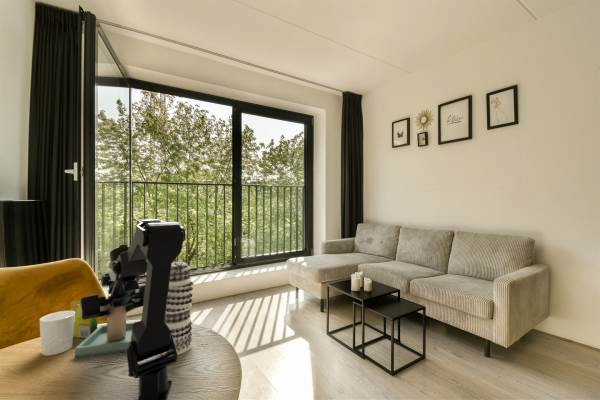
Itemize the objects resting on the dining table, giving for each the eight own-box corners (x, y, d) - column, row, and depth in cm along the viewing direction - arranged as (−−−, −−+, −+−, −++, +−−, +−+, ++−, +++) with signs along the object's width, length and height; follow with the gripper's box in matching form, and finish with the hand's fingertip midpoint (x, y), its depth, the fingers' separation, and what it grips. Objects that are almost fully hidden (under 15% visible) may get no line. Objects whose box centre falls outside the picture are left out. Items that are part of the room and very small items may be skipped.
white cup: (53, 358, 75) (54, 322, 76) (31, 355, 77) (32, 320, 77) (81, 344, 83) (82, 311, 83) (61, 341, 85) (61, 309, 85)
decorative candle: (178, 358, 75) (178, 267, 75) (151, 353, 77) (151, 266, 78) (199, 342, 84) (199, 261, 84) (174, 338, 86) (174, 259, 87)
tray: (134, 350, 79) (135, 341, 79) (74, 357, 75) (75, 348, 76) (150, 328, 94) (150, 320, 94) (100, 333, 90) (100, 325, 90)
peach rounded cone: (116, 341, 82) (116, 299, 82) (102, 339, 83) (102, 298, 83) (130, 333, 87) (130, 294, 87) (116, 332, 88) (116, 293, 88)
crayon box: (97, 334, 89) (98, 298, 90) (89, 338, 86) (89, 302, 87) (78, 332, 91) (78, 297, 91) (69, 337, 88) (70, 300, 88)
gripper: (153, 258, 89) (142, 285, 96) (81, 268, 76) (75, 299, 83) (162, 287, 83) (150, 314, 91) (85, 304, 70) (78, 333, 77)
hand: (115, 314), depth 86 cm, fingers closed on peach rounded cone, 5 cm apart
